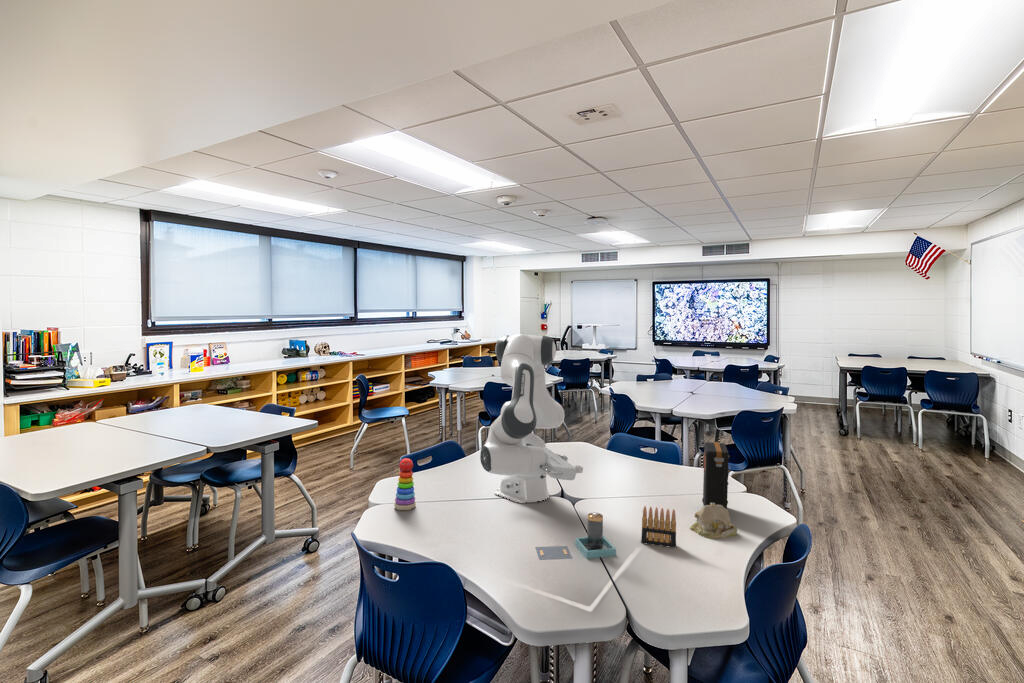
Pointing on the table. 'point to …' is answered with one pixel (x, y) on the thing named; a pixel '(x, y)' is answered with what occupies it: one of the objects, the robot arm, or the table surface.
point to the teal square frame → (595, 553)
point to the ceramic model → (713, 522)
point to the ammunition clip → (659, 528)
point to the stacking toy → (405, 487)
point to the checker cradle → (553, 552)
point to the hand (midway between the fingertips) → (573, 464)
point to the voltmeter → (715, 474)
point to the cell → (595, 531)
